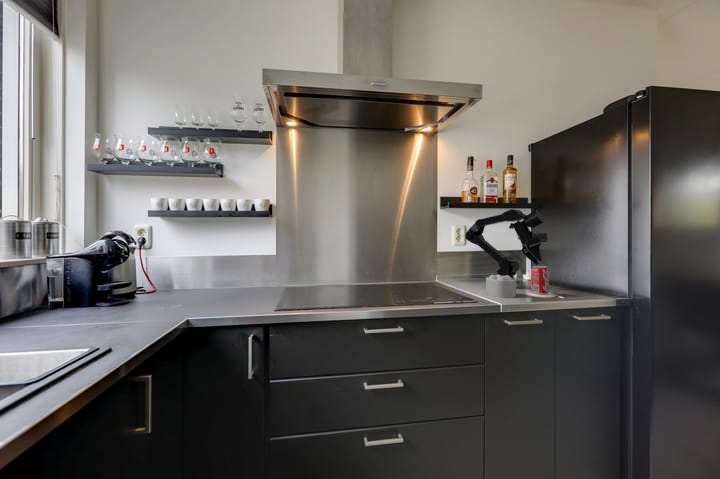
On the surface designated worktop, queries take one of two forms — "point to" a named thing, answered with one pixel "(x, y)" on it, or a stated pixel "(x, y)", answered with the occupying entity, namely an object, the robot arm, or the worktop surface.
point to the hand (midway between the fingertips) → (538, 262)
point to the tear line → (558, 296)
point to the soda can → (540, 280)
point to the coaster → (540, 295)
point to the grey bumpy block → (500, 286)
